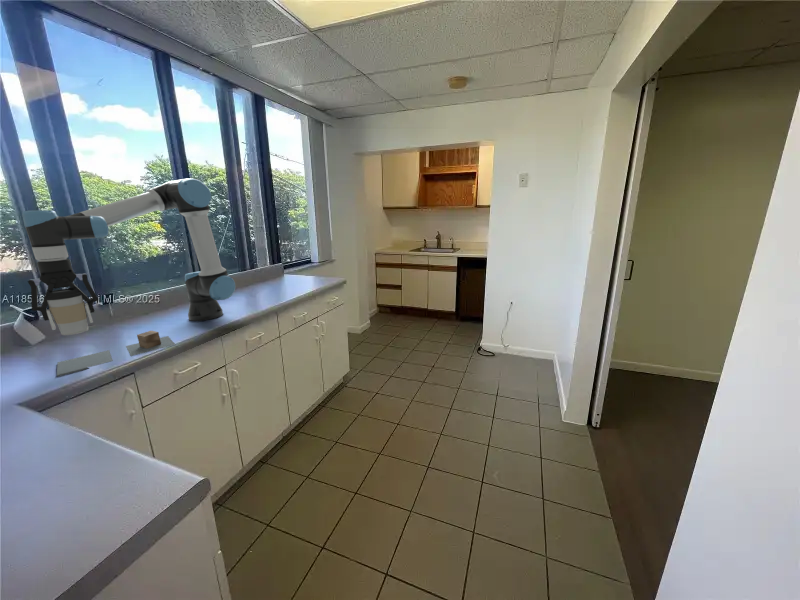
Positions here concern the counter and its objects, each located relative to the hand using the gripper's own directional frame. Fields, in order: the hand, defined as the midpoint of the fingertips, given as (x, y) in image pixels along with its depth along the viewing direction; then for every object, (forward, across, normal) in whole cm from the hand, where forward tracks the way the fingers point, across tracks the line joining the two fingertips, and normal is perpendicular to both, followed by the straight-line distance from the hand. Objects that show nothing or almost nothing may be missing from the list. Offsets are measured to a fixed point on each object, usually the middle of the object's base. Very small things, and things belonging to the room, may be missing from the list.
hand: (73, 325), depth 112 cm
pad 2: (+14, -19, 0) cm, 24 cm away
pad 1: (+14, 0, 0) cm, 14 cm away
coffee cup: (+3, 0, 0) cm, 3 cm away
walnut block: (+14, -19, 0) cm, 23 cm away
